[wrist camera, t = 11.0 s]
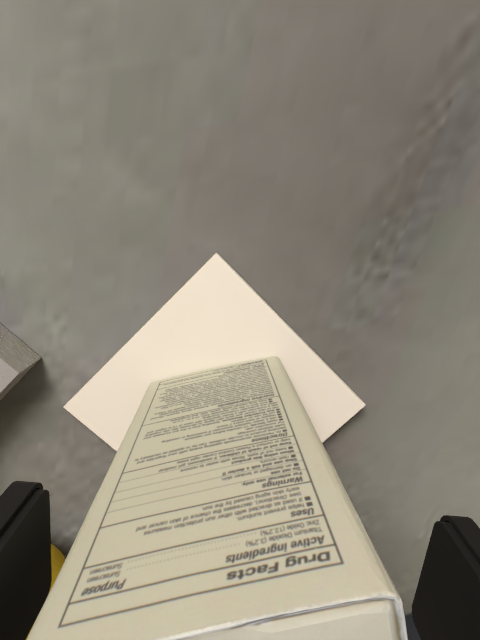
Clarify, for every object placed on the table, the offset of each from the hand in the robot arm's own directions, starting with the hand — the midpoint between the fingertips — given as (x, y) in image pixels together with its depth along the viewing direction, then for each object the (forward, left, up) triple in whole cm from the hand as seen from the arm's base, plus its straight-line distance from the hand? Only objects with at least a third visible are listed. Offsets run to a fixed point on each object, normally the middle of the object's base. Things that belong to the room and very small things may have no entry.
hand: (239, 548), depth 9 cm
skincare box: (+1, 0, -9) cm, 9 cm away
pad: (+1, 0, -10) cm, 10 cm away
